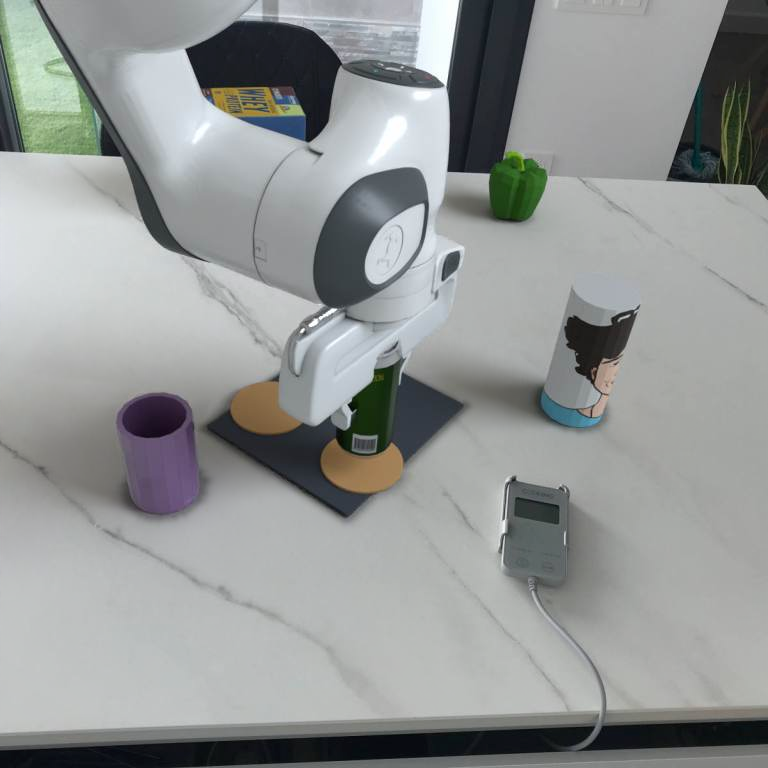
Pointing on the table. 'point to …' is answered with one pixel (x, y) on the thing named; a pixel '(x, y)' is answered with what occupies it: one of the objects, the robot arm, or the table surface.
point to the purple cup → (159, 452)
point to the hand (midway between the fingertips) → (366, 404)
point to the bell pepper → (516, 187)
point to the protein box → (262, 107)
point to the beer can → (374, 410)
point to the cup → (589, 347)
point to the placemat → (331, 441)
